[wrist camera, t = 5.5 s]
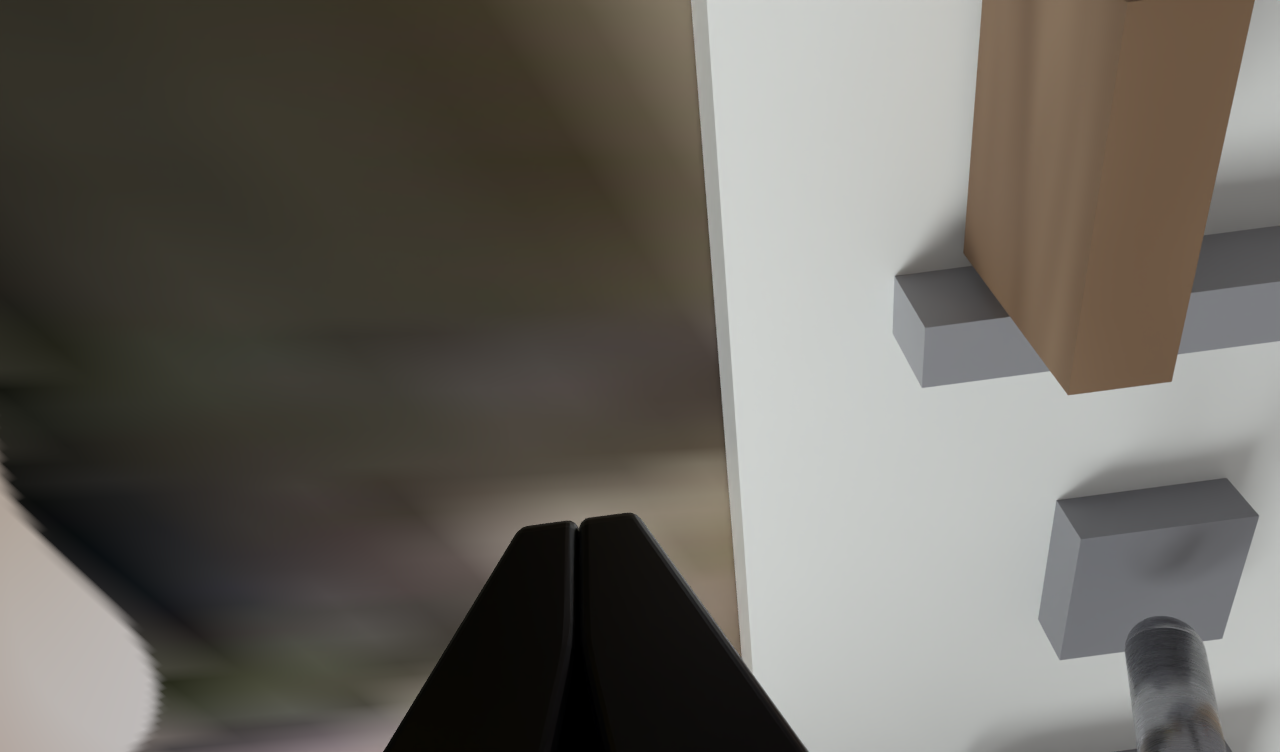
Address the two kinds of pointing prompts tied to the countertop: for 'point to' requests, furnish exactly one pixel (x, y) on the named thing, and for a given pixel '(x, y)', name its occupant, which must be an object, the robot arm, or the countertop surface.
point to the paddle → (1099, 173)
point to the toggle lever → (1171, 688)
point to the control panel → (968, 409)
